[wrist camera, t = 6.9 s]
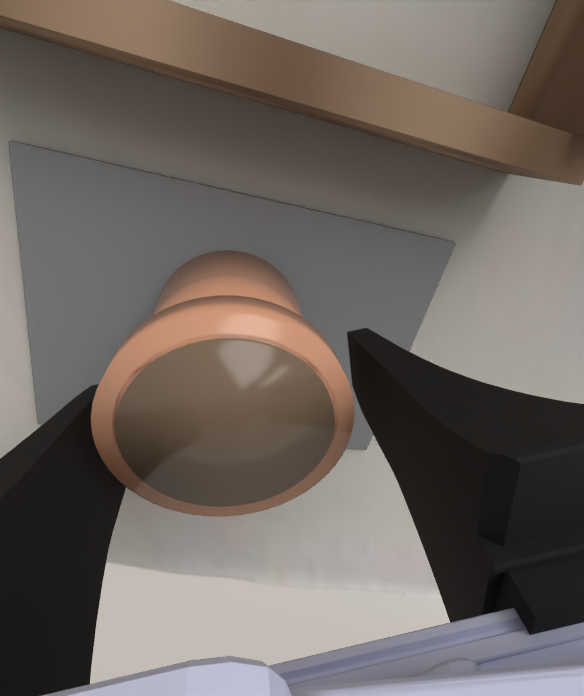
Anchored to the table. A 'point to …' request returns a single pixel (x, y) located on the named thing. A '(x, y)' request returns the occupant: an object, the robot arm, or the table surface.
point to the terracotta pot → (223, 394)
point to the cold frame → (340, 79)
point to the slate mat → (181, 246)
